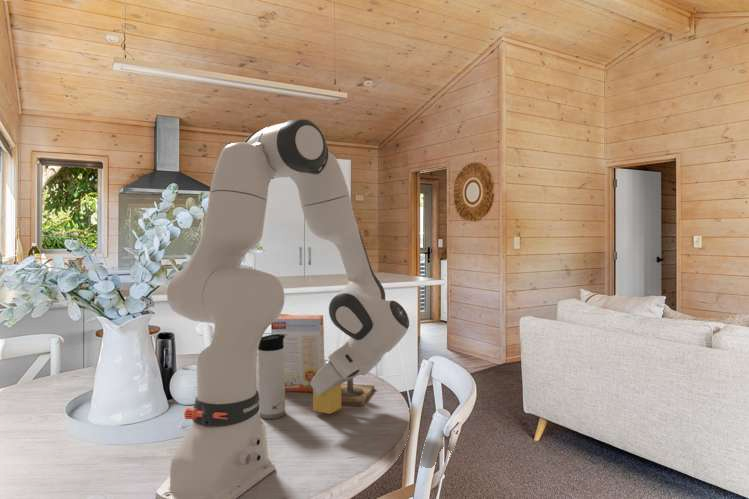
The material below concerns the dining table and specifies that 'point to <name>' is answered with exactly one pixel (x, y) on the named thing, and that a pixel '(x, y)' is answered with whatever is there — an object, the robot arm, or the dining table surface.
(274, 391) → the travel mug
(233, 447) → the robot arm
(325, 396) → the collar
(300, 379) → the cracker box
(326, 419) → the dining table surface
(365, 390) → the post board
